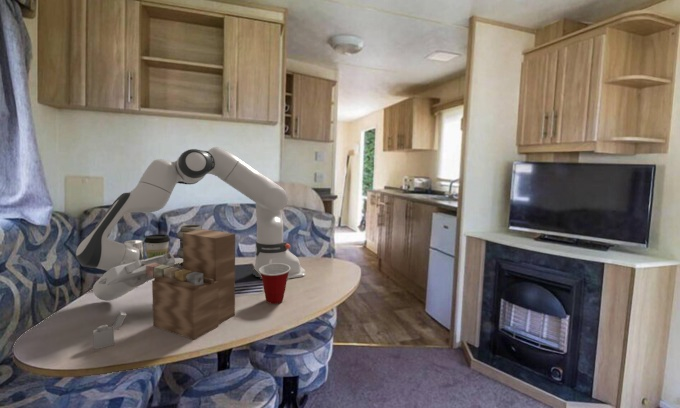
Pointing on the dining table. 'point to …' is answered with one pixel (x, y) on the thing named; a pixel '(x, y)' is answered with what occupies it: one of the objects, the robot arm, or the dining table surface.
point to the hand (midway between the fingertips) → (156, 258)
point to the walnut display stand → (198, 286)
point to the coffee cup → (157, 245)
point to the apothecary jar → (180, 235)
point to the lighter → (107, 333)
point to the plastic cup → (274, 281)
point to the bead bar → (174, 273)
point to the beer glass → (137, 245)
